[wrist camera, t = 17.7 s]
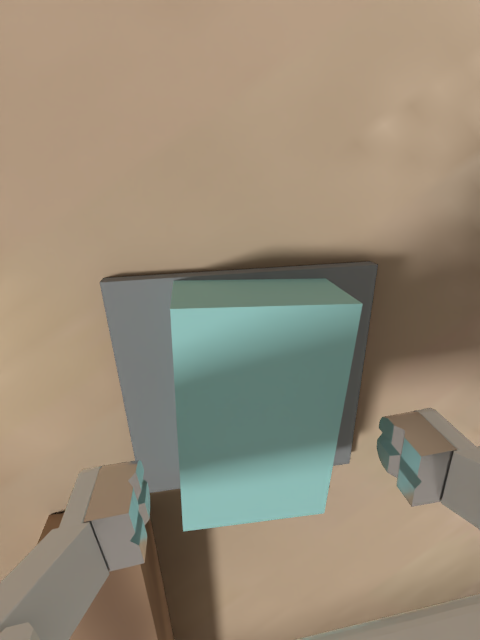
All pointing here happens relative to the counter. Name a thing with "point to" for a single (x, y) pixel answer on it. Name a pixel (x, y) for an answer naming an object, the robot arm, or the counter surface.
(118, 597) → the channel board
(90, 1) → the counter surface
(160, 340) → the slate mat
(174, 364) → the block
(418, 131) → the counter surface
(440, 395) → the counter surface
